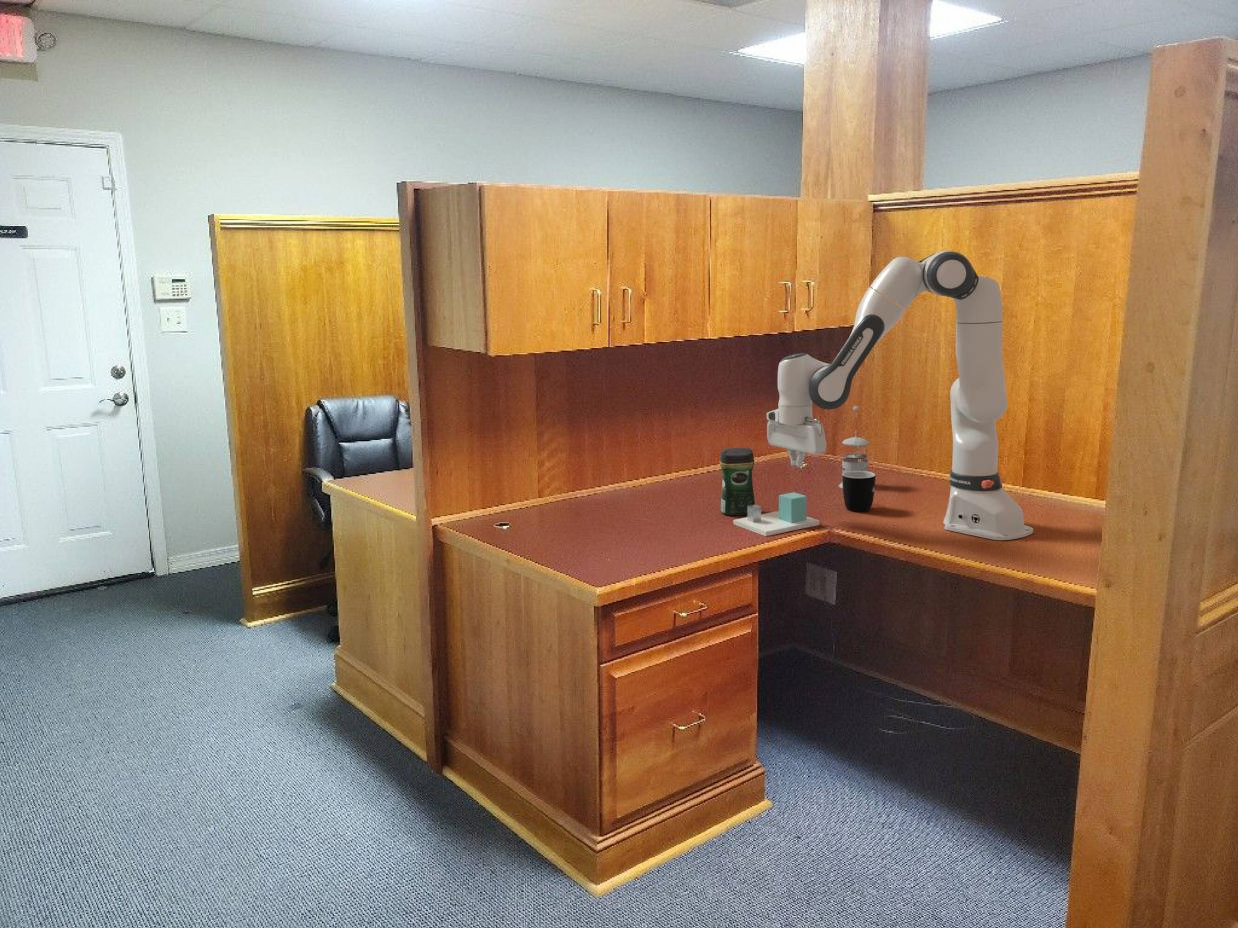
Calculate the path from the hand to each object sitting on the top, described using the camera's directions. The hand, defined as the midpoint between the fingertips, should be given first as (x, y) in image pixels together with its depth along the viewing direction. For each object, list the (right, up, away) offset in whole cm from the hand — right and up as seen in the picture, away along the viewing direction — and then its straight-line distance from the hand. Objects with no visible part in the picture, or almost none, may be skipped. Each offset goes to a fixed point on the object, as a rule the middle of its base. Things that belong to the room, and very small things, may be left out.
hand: (797, 466), depth 260 cm
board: (-5, -16, +1) cm, 17 cm away
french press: (+26, -6, +40) cm, 48 cm away
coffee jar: (-14, -13, +14) cm, 24 cm away
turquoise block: (-1, -14, +1) cm, 14 cm away
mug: (+20, -12, +15) cm, 27 cm away
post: (-11, -15, +1) cm, 19 cm away
